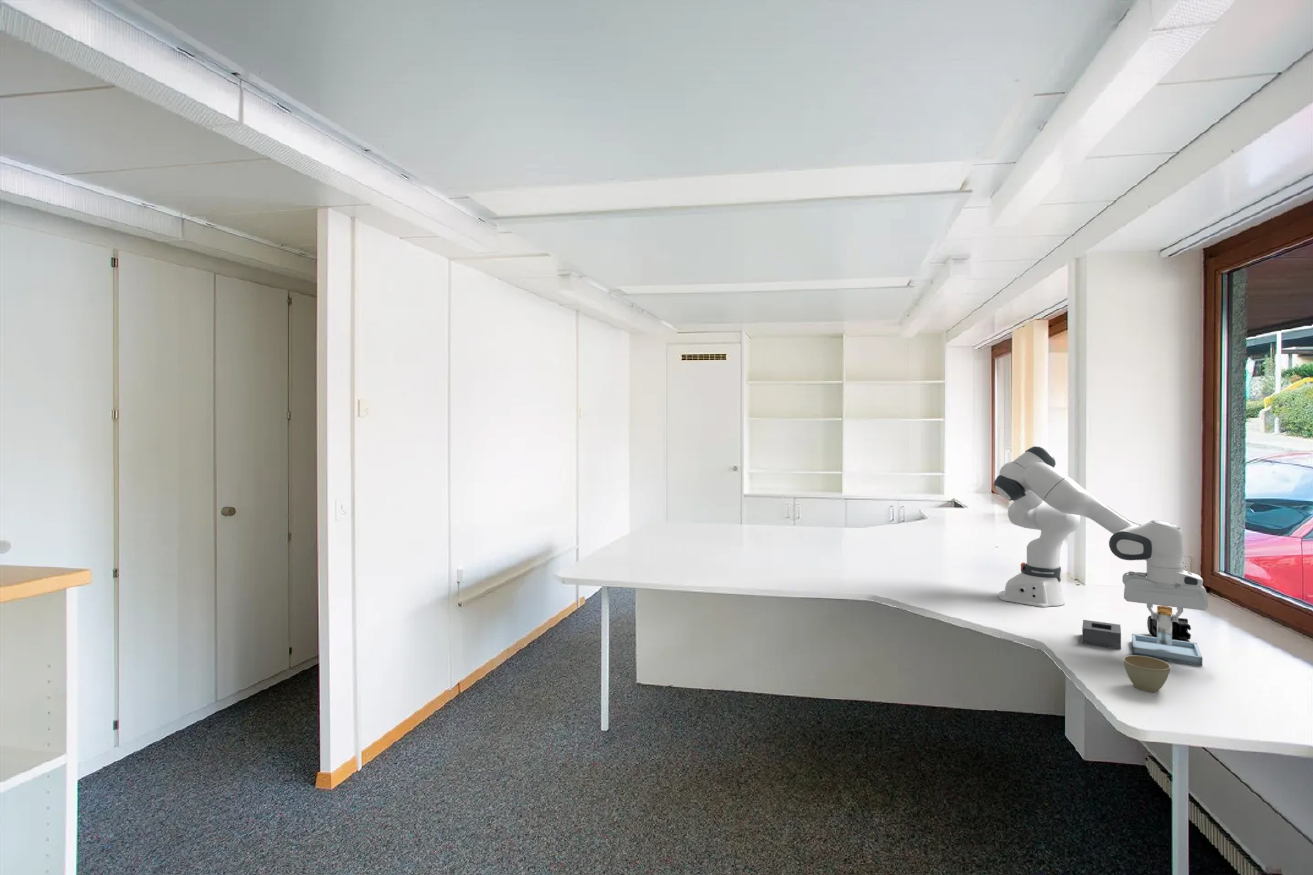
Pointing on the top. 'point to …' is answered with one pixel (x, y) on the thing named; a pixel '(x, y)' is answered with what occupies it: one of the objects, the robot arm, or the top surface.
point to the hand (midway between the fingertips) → (1164, 619)
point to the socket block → (1101, 634)
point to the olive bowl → (1146, 672)
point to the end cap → (1178, 629)
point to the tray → (1167, 650)
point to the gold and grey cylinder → (1164, 625)
